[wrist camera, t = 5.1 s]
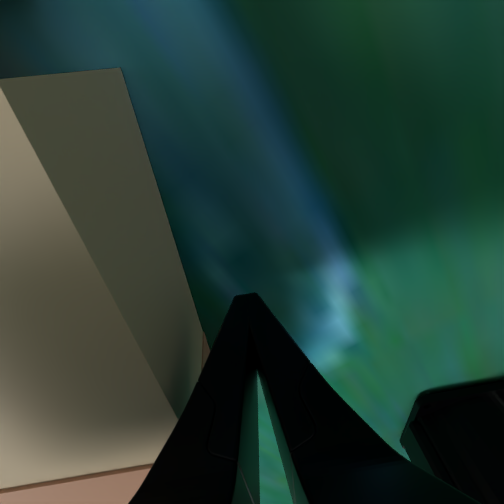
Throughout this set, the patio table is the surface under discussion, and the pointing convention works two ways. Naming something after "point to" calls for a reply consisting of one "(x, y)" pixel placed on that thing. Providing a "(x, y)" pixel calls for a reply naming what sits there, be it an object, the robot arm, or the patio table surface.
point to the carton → (86, 296)
